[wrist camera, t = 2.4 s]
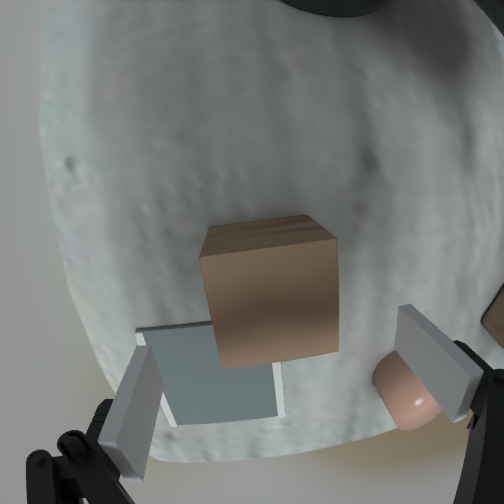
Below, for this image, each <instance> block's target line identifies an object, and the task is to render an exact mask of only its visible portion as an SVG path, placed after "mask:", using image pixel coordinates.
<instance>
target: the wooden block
mask: <svg viewBox="0 0 504 504" xmlns="http://www.w3.org/2000/svg"><path fill="white" fill-rule="evenodd" d="M482 322H483V325H484V328H485V329H486V330H487V331H488V332H489V333H490V334H491V336H492V337H493V338H494V339H495V340H496V341H497V342H498V344H499V345H500V346H501V347H502V348H503V349H504V287H503V289H502V290H501V292H500V293H499V295H498V297H497V298H496V300H495V301H494V303H493V304H492V306H491V307H490V309H489V310H488V312H487V313H486V315H485V316H484V318H483V321H482Z"/></svg>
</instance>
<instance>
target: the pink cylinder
mask: <svg viewBox="0 0 504 504" xmlns="http://www.w3.org/2000/svg"><path fill="white" fill-rule="evenodd" d="M372 381H373V385H374V386H375V388H376V390H377V392H378V393H379V395H380V397H381V399H382V400H383V402H384V404H385V406H386V407H387V409H388V411H389V413H390V415H391V416H392V418H393V420H394V422H395V424H396V425H397V427H398V428H399V429H401V430H413V429H416V428H419V427H421V426H423V425H425V424H426V423H428V422H429V421H431V420H432V419H433V418H435V417H436V416H437V415H438V414H439V413H440V411H441V410H442V408H441V407H440V406H439V404H438V403H437V402H436V400H435V399H434V398H433V397H432V395H431V394H430V393H429V391H428V390H427V389H426V387H425V386H424V385H423V384H422V382H421V381H420V380H419V379H418V377H417V376H416V375H415V374H414V372H413V371H412V370H411V368H410V367H409V366H408V365H407V363H406V362H405V361H404V360H403V359H402V357H401V356H400V355H399V354H398V352H397V351H396V350H395V351H393V352H392V353H390V354H388V355H387V356H386V357H385V358H384V359H382V361H381V362H380V363H379V364H378V365H377V367H376V369H375V371H374V373H373V377H372Z"/></svg>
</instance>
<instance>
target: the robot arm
mask: <svg viewBox="0 0 504 504" xmlns="http://www.w3.org/2000/svg"><path fill="white" fill-rule="evenodd" d="M281 1H283V2H285V3H287V4H289V5H292V6H294V7H297V8H299V9H302V10H305V11H309V12H312V13H317V14H321V15H327V16H336V17H354V16H361V15H365V14H369V13H371V12H374V11H376V10H378V9H379V8H381V7H382V6H383V5H384V4H386V3H387V2H388V1H389V0H281ZM474 1H475V2H476V4H477V5H478V6H479V7H480V8H481V9H482V10H483V11H484V13H485V14H486V15H487V16H488V17H489V19H490V20H491V21H492V22H493V23H494V25H495V26H496V27H497V28H498V30H499V31H500V32H501V34H502V35H503V36H504V0H474ZM394 349H395V350H396V351H397V352H398V354H399V355H400V356H401V357H402V359H403V360H404V361H405V362H406V363H407V365H408V366H409V367H410V368H411V370H412V371H413V372H414V374H415V375H416V376H417V377H418V379H419V380H420V381H421V382H422V384H423V385H424V386H425V387H426V389H427V390H428V391H429V393H430V394H431V395H432V397H433V398H434V399H435V400H436V402H437V403H438V404H439V406H440V407H441V408H442V410H443V411H444V412H445V414H446V415H447V416H448V418H449V419H450V420H451V422H452V423H455V422H457V421H459V420H461V419H463V418H465V417H466V416H467V413H468V411H469V409H471V410H472V411H473V412H474V413H473V415H472V418H471V420H470V422H469V424H468V427H467V429H469V427H470V432H469V438H468V444H467V449H466V454H465V459H464V464H463V468H462V473H461V477H460V481H459V485H458V488H457V492H456V495H455V499H454V502H453V504H504V369H495V370H493V369H492V368H491V367H490V366H489V365H488V364H487V363H486V362H485V361H484V360H483V359H482V358H481V357H479V356H478V355H476V353H475V352H474V351H472V349H471V348H470V347H468V346H467V345H466V344H465V343H463V342H460V341H458V340H455V341H452V340H450V339H449V338H448V337H447V336H446V335H445V334H444V333H443V332H442V331H441V330H439V329H438V328H437V327H436V326H435V325H434V324H433V323H432V322H431V321H429V320H428V319H427V318H426V317H425V316H424V315H423V314H421V313H420V312H419V311H418V310H417V309H416V308H415V307H413V306H412V305H411V304H407V305H403V306H399V308H398V319H397V329H396V338H395V346H394ZM163 389H164V383H163V380H162V377H161V374H160V372H159V369H158V366H157V363H156V360H155V357H154V354H153V351H152V348H151V345H143V346H137V347H136V349H135V351H134V354H133V356H132V358H131V360H130V363H129V365H128V367H127V369H126V372H125V374H124V376H123V379H122V381H121V383H120V386H119V388H118V391H117V393H116V395H115V398H114V399H105V400H104V401H103V402H102V403H101V404H100V405H99V406H98V408H97V410H96V412H95V416H94V417H93V419H92V422H91V423H90V426H89V428H88V430H87V433H86V435H85V434H84V433H83V432H81V431H78V430H71V431H68V432H66V433H64V434H63V435H61V437H60V438H59V439H58V442H57V448H58V449H59V451H60V452H61V453H62V455H63V456H57V457H52V456H51V455H50V454H49V453H48V452H47V451H46V450H36V451H34V452H32V453H31V454H30V455H29V456H28V458H27V461H26V487H27V504H84V502H83V498H86V499H87V501H88V503H89V504H135V503H134V501H133V500H132V499H131V497H130V496H129V494H128V493H127V492H126V490H125V489H124V488H123V486H122V485H121V483H120V482H119V478H120V474H121V475H122V476H123V478H124V479H125V480H126V481H135V482H143V478H144V473H145V469H146V464H147V459H148V454H149V450H150V445H151V441H152V436H153V432H154V427H155V423H156V419H157V414H158V410H159V406H160V402H161V398H162V394H163Z"/></svg>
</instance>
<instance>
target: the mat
mask: <svg viewBox="0 0 504 504" xmlns="http://www.w3.org/2000/svg"><path fill="white" fill-rule="evenodd" d="M135 337H136V339H137V342H138V345H139V346H143V345H151V348H152V351H153V354H154V357H155V360H156V363H157V366H158V369H159V372H160V374H161V377H162V380H163V383H164V389H163V394H162V398H161V402H160V403H161V405H162V408H163V410H164V412H165V415H166V417H167V419H168V422H169V424H170V426H171V427H178V425H186V424H206V423H221V422H232V421H242V420H251V419H259V418H267V417H274V416H278V418H280V417H285V406H284V395H283V384H282V373H281V363H280V362H276V363H269V364H262V365H255V366H247V367H239V368H230V369H222V366H221V362H220V357H219V353H218V348H217V344H216V339H215V334H214V330H213V325H212V322H203V323H194V324H184V325H174V326H163V327H152V328H140V329H137V330H136V332H135Z"/></svg>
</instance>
